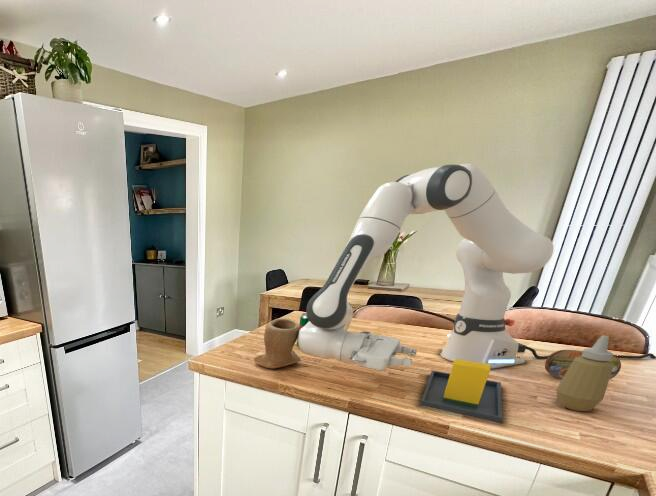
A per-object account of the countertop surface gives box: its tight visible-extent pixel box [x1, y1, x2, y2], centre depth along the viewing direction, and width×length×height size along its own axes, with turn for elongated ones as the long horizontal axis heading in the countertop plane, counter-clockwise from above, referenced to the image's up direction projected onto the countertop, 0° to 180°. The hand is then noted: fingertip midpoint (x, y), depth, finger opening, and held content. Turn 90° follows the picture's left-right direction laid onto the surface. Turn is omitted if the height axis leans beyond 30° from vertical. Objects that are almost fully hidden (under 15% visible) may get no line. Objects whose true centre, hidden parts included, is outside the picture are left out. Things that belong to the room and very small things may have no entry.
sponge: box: [443, 359, 491, 407], centre depth 99 cm, size 4×7×10 cm, turn 52°
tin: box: [544, 349, 622, 381], centre depth 111 cm, size 15×3×8 cm, turn 66°
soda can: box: [296, 312, 309, 346], centre depth 144 cm, size 5×5×12 cm
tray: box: [419, 370, 503, 424], centre depth 103 cm, size 26×16×2 cm, turn 141°
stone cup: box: [253, 317, 301, 369], centre depth 126 cm, size 15×12×15 cm
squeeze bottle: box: [555, 335, 614, 412], centre depth 94 cm, size 8×8×18 cm
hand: (414, 357), depth 104 cm, fingers open, 8 cm apart
